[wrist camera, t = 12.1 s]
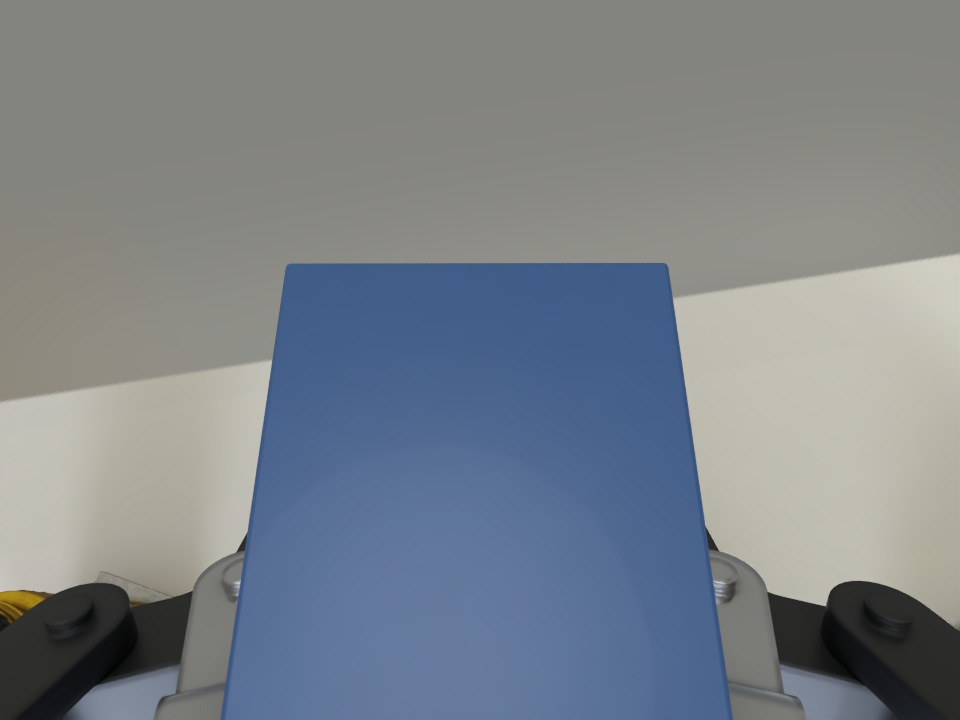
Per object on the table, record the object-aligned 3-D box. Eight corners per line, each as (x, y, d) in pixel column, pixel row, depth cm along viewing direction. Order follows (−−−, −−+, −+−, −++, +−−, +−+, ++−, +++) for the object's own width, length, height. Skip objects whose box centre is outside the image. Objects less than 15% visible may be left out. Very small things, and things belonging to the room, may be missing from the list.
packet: (384, 729, 14) (185, 937, 5) (397, 473, 17) (285, 261, 7) (574, 729, 14) (766, 936, 5) (560, 472, 17) (668, 260, 7)
